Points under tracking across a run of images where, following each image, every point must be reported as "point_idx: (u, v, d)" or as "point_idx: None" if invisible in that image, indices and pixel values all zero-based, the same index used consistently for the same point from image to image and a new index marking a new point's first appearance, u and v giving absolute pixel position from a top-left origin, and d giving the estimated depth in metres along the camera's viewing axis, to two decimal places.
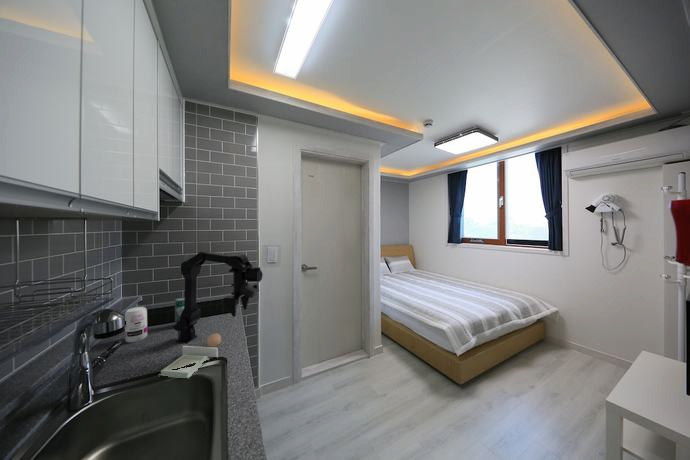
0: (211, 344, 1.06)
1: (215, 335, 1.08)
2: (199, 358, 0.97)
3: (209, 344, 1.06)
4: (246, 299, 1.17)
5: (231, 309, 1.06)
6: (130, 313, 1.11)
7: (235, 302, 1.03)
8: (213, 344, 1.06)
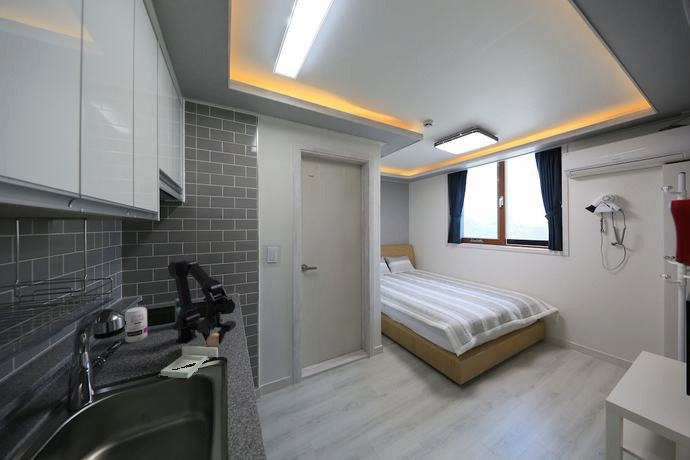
0: (211, 344, 1.06)
1: (215, 335, 1.08)
2: (199, 358, 0.97)
3: (209, 344, 1.06)
4: None
5: None
6: (130, 313, 1.11)
7: (192, 328, 1.06)
8: (213, 344, 1.06)
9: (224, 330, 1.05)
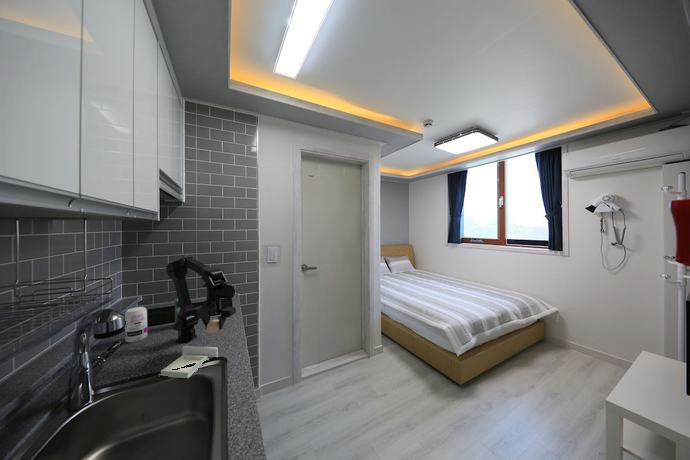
0: (211, 330, 1.05)
1: (215, 321, 1.07)
2: (199, 358, 0.97)
3: (209, 330, 1.05)
4: None
5: None
6: (130, 313, 1.11)
7: (192, 314, 1.06)
8: (213, 330, 1.06)
9: (224, 316, 1.04)
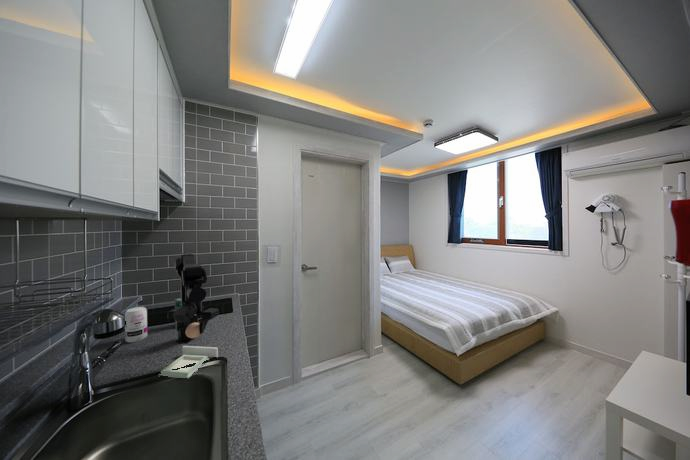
0: (190, 334, 0.93)
1: (195, 324, 0.96)
2: (199, 358, 0.97)
3: (188, 334, 0.93)
4: None
5: None
6: (130, 313, 1.11)
7: (169, 316, 0.94)
8: (193, 334, 0.94)
9: (205, 318, 0.93)
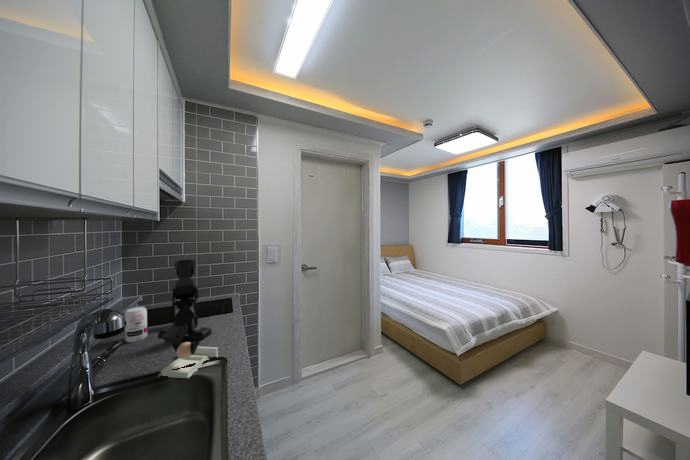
0: (181, 355, 0.90)
1: (186, 344, 0.92)
2: (199, 358, 0.97)
3: (179, 355, 0.90)
4: None
5: None
6: (130, 313, 1.11)
7: (159, 336, 0.90)
8: (184, 355, 0.90)
9: (196, 339, 0.89)
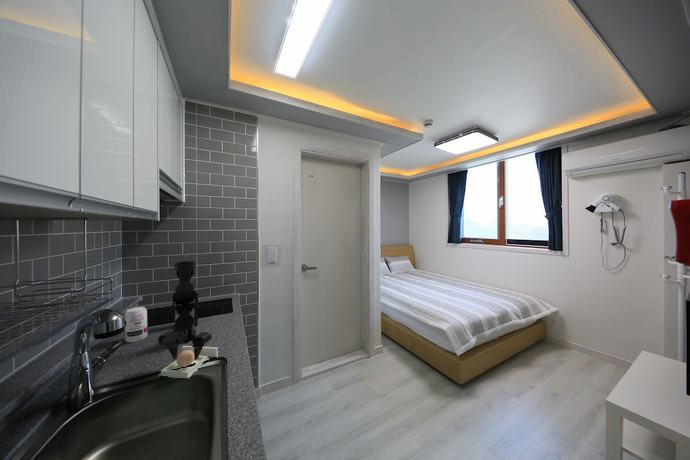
0: (181, 363, 0.90)
1: (187, 352, 0.92)
2: (199, 358, 0.97)
3: (179, 363, 0.90)
4: None
5: None
6: (130, 313, 1.11)
7: (159, 341, 0.90)
8: (184, 363, 0.90)
9: (196, 344, 0.89)
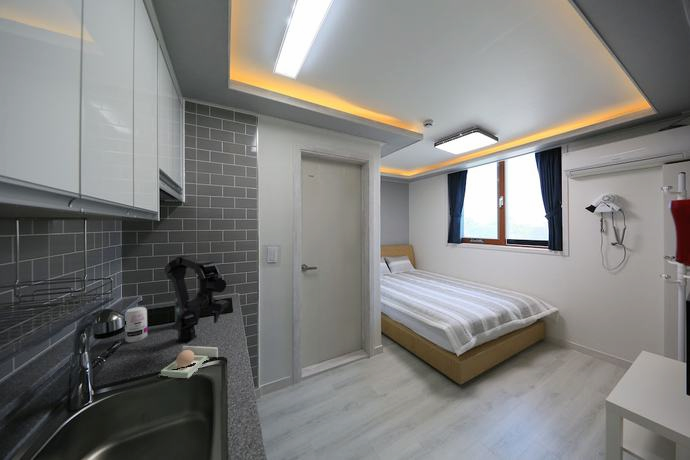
0: (181, 363, 0.90)
1: (186, 352, 0.92)
2: (199, 358, 0.97)
3: (179, 363, 0.90)
4: None
5: None
6: (130, 313, 1.11)
7: (184, 306, 1.05)
8: (183, 363, 0.90)
9: (216, 308, 1.03)
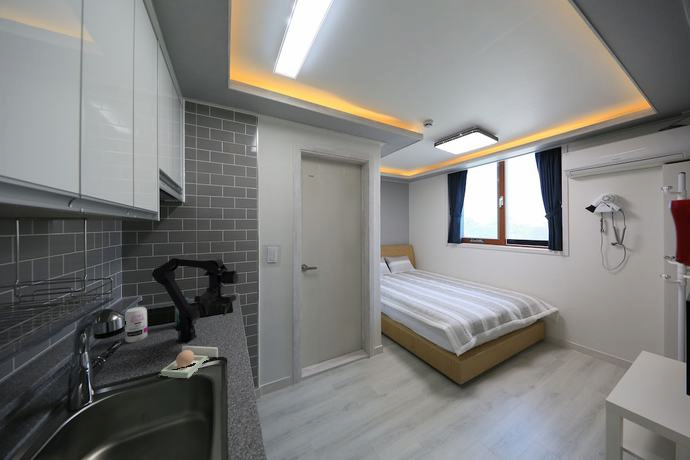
0: (181, 363, 0.90)
1: (186, 352, 0.92)
2: (199, 358, 0.97)
3: (179, 363, 0.90)
4: None
5: None
6: (130, 313, 1.11)
7: (195, 300, 1.13)
8: (183, 363, 0.90)
9: (225, 302, 1.12)
